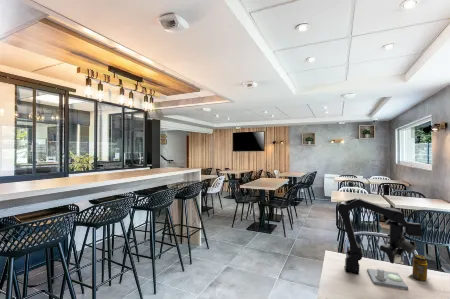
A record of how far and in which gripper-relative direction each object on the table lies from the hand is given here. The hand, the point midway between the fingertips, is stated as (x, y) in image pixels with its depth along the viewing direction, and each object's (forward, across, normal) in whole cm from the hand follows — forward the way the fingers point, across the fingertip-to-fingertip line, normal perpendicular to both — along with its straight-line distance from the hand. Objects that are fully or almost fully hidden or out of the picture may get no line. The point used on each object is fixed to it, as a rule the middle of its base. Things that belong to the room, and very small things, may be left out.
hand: (394, 262), depth 124 cm
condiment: (+10, +14, -5) cm, 18 cm away
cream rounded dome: (-1, 0, 0) cm, 1 cm away
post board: (+10, -3, +2) cm, 11 cm away
